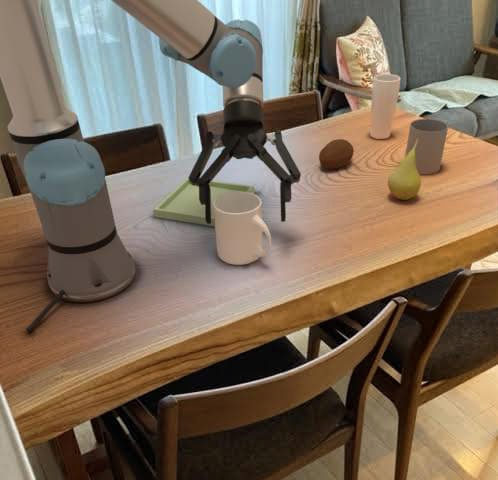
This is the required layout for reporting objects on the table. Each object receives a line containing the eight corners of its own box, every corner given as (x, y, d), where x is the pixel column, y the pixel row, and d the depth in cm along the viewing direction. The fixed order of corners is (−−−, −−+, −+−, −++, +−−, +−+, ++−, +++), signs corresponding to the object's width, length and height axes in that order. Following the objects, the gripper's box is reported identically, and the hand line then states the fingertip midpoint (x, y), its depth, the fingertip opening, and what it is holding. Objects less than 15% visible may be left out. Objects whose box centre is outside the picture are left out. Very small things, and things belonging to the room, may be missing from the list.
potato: (311, 168, 131) (312, 142, 127) (337, 156, 136) (339, 131, 132) (332, 175, 127) (333, 150, 123) (358, 163, 132) (360, 138, 128)
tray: (226, 228, 110) (225, 220, 108) (154, 216, 114) (153, 209, 113) (254, 193, 121) (254, 185, 120) (188, 184, 126) (187, 176, 125)
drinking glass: (396, 134, 146) (404, 75, 136) (387, 142, 142) (395, 82, 132) (372, 130, 149) (379, 72, 139) (363, 138, 144) (369, 79, 135)
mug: (254, 278, 96) (252, 225, 89) (207, 255, 102) (203, 203, 95) (285, 258, 100) (286, 206, 93) (239, 237, 107) (236, 187, 100)
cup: (413, 157, 134) (420, 116, 127) (445, 165, 130) (454, 123, 123) (397, 168, 129) (403, 127, 123) (430, 177, 125) (438, 134, 118)
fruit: (381, 200, 117) (389, 146, 109) (393, 187, 122) (401, 134, 114) (412, 207, 114) (421, 152, 106) (422, 193, 119) (432, 139, 111)
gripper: (309, 115, 103) (312, 224, 101) (179, 120, 103) (180, 228, 101) (312, 95, 95) (316, 212, 93) (172, 100, 96) (173, 216, 94)
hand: (245, 220), depth 97 cm, fingers open, 13 cm apart
